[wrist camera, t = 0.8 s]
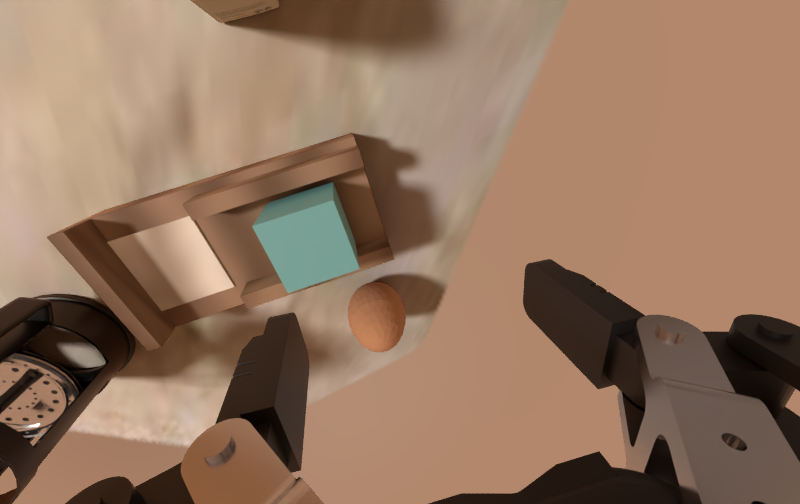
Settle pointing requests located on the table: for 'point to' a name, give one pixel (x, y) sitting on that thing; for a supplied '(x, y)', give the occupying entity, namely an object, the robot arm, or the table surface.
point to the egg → (376, 316)
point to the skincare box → (235, 8)
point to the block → (307, 237)
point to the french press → (50, 377)
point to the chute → (212, 240)
